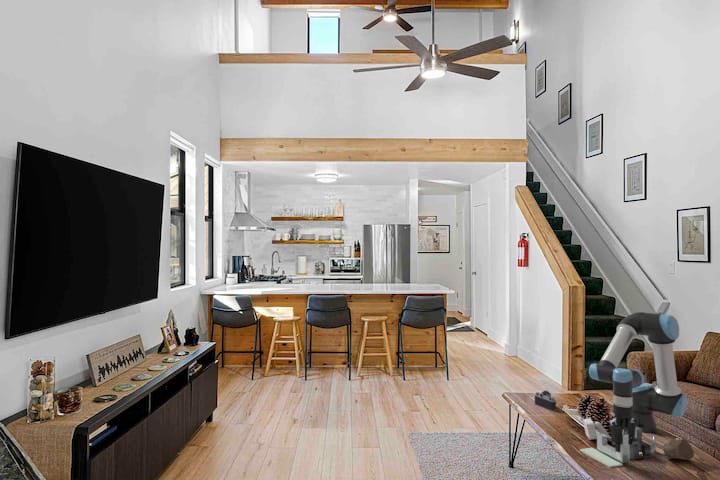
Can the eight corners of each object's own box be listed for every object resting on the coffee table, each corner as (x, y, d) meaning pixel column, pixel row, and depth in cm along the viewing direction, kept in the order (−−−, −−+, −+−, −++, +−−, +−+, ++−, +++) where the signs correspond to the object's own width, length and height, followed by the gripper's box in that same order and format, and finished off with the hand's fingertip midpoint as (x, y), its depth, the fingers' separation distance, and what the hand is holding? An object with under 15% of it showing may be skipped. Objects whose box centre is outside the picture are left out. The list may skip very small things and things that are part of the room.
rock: (679, 467, 207) (679, 443, 207) (655, 457, 216) (655, 435, 217) (695, 461, 213) (695, 438, 213) (671, 452, 222) (671, 431, 222)
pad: (592, 449, 225) (592, 447, 225) (622, 465, 208) (622, 464, 208) (579, 450, 223) (579, 449, 223) (609, 467, 206) (609, 465, 206)
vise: (648, 448, 227) (647, 422, 227) (662, 455, 219) (662, 429, 219) (606, 453, 220) (606, 427, 220) (620, 461, 212) (620, 434, 213)
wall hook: (613, 442, 232) (608, 421, 233) (590, 444, 234) (586, 424, 235) (608, 435, 240) (603, 416, 241) (586, 438, 242) (582, 418, 243)
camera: (563, 410, 280) (563, 393, 281) (553, 412, 277) (553, 395, 277) (542, 402, 294) (542, 386, 295) (532, 404, 291) (532, 388, 291)
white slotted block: (602, 448, 222) (602, 422, 223) (628, 462, 208) (628, 434, 208) (597, 448, 222) (596, 423, 222) (623, 462, 207) (622, 435, 207)
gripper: (630, 400, 215) (630, 453, 215) (601, 403, 211) (601, 457, 210) (644, 406, 208) (644, 460, 208) (614, 409, 204) (614, 464, 203)
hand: (622, 458), depth 209 cm, fingers closed on white slotted block, 3 cm apart
